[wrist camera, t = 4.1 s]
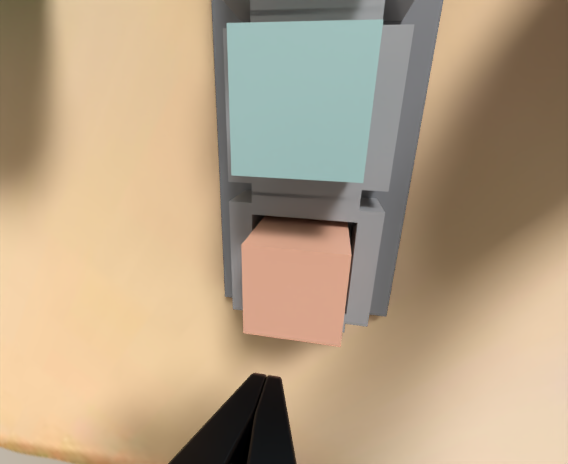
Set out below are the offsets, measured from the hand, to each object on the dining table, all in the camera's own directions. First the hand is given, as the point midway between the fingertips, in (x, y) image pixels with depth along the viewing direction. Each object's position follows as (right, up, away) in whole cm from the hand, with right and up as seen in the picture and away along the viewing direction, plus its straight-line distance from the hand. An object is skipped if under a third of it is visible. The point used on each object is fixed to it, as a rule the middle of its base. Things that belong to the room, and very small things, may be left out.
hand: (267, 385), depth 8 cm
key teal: (+2, +10, +5) cm, 11 cm away
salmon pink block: (+2, +3, +9) cm, 9 cm away
